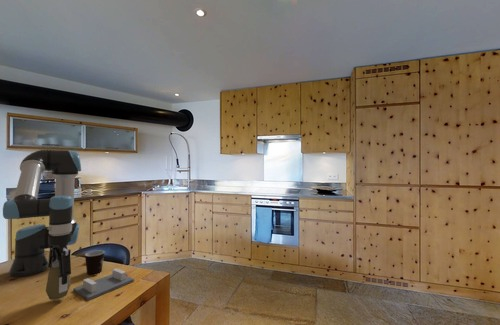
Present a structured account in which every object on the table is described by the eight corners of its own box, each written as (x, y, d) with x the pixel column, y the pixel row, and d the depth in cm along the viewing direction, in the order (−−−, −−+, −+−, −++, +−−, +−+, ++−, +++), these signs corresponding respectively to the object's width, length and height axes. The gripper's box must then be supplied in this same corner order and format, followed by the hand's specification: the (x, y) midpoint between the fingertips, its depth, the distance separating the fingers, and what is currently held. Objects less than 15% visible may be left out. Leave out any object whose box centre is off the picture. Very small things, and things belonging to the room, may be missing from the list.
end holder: (73, 291, 106) (73, 280, 106) (117, 274, 123) (118, 265, 123) (88, 300, 99) (89, 289, 99) (133, 281, 116) (134, 271, 116)
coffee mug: (94, 276, 120) (95, 256, 120) (80, 275, 121) (80, 255, 122) (112, 267, 131) (112, 249, 131) (98, 266, 133) (99, 248, 133)
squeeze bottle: (74, 294, 100) (76, 251, 100) (52, 304, 93) (53, 257, 93) (63, 289, 104) (65, 248, 104) (41, 298, 96) (42, 254, 96)
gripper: (39, 231, 101) (37, 285, 101) (60, 240, 90) (58, 300, 90) (60, 227, 107) (58, 278, 107) (82, 235, 96) (80, 291, 96)
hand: (58, 288), depth 98 cm, fingers closed on squeeze bottle, 8 cm apart
